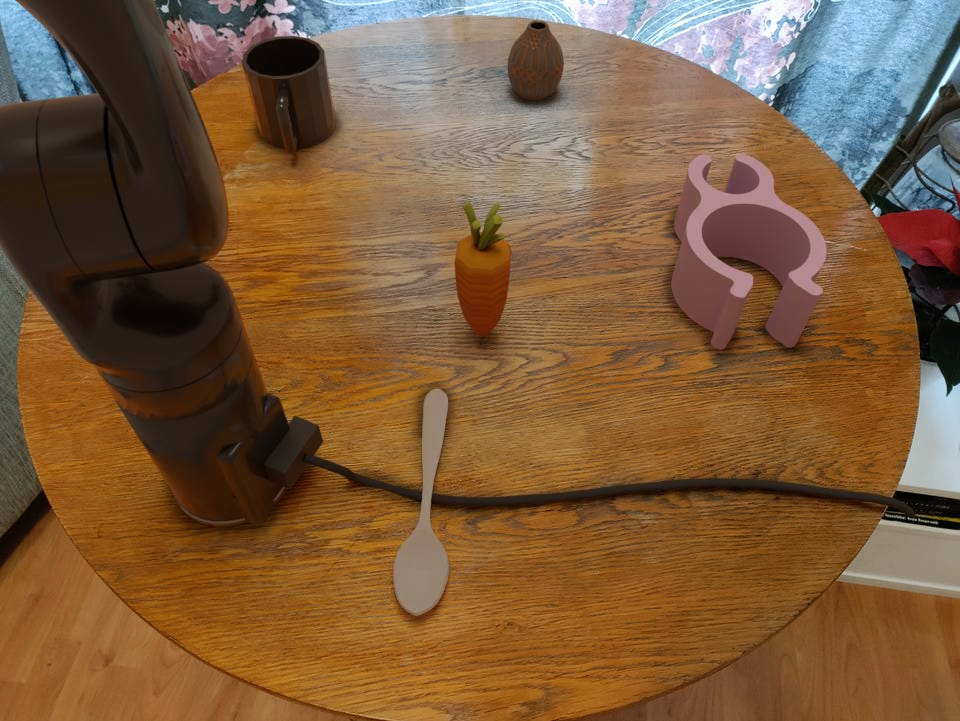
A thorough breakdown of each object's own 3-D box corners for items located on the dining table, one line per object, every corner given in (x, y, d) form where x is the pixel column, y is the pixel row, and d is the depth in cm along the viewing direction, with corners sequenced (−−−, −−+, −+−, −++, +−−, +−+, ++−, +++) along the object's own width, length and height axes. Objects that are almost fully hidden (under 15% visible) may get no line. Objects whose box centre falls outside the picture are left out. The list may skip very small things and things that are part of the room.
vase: (570, 87, 98) (577, 20, 91) (544, 113, 94) (549, 45, 87) (523, 71, 100) (527, 5, 93) (496, 96, 96) (498, 29, 89)
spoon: (388, 621, 54) (385, 613, 53) (413, 389, 67) (412, 377, 66) (446, 623, 54) (445, 615, 53) (461, 390, 67) (460, 379, 66)
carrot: (449, 322, 72) (444, 195, 60) (499, 310, 73) (503, 184, 61) (464, 361, 69) (462, 236, 58) (516, 348, 70) (524, 223, 58)
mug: (263, 107, 94) (246, 37, 88) (336, 103, 95) (325, 34, 88) (253, 169, 87) (234, 98, 80) (333, 165, 87) (321, 94, 80)
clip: (648, 208, 83) (661, 155, 77) (762, 205, 83) (782, 152, 78) (688, 350, 70) (706, 298, 65) (822, 346, 70) (850, 294, 65)
